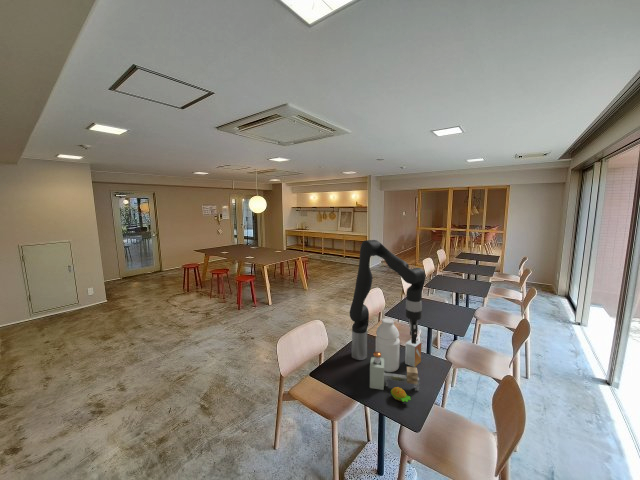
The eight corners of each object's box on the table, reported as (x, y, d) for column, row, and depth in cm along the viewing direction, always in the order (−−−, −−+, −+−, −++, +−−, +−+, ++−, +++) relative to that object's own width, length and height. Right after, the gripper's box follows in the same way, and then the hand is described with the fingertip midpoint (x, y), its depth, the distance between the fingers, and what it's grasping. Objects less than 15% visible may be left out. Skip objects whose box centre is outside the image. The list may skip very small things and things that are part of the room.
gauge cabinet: (369, 387, 139) (369, 366, 137) (371, 377, 147) (371, 356, 146) (383, 390, 137) (383, 368, 136) (384, 379, 146) (384, 358, 144)
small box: (414, 368, 155) (415, 346, 154) (404, 363, 160) (405, 343, 158) (421, 362, 161) (421, 341, 159) (411, 358, 165) (411, 338, 164)
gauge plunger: (373, 371, 140) (373, 355, 139) (373, 366, 144) (373, 351, 143) (380, 372, 139) (381, 355, 138) (381, 367, 143) (381, 351, 142)
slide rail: (383, 385, 140) (383, 375, 139) (383, 382, 143) (384, 372, 142) (419, 391, 136) (419, 380, 135) (418, 388, 138) (418, 377, 137)
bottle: (397, 359, 164) (397, 315, 161) (401, 373, 151) (402, 325, 147) (373, 358, 166) (374, 315, 162) (376, 371, 152) (376, 325, 149)
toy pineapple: (396, 391, 136) (397, 381, 135) (413, 403, 128) (413, 392, 127) (387, 397, 132) (387, 387, 131) (404, 409, 124) (404, 398, 123)
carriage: (407, 383, 136) (407, 372, 135) (406, 377, 140) (406, 366, 139) (417, 384, 134) (417, 373, 134) (416, 378, 139) (416, 367, 138)
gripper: (405, 302, 140) (404, 332, 142) (406, 313, 127) (406, 345, 129) (420, 303, 138) (419, 333, 140) (423, 314, 125) (422, 347, 127)
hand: (412, 339), depth 135 cm, fingers open, 8 cm apart
